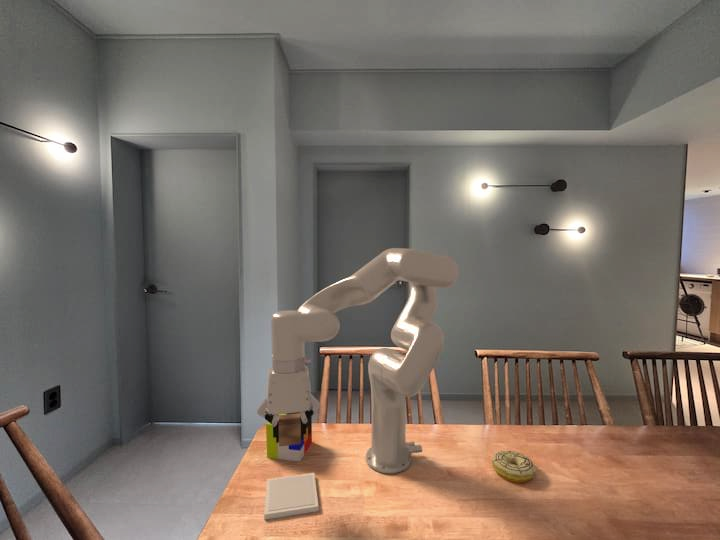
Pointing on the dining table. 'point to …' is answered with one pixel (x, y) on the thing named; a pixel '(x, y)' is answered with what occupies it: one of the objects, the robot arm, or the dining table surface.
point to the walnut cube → (289, 429)
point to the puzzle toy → (292, 450)
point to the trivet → (290, 496)
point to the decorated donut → (513, 466)
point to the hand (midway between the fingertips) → (289, 437)
